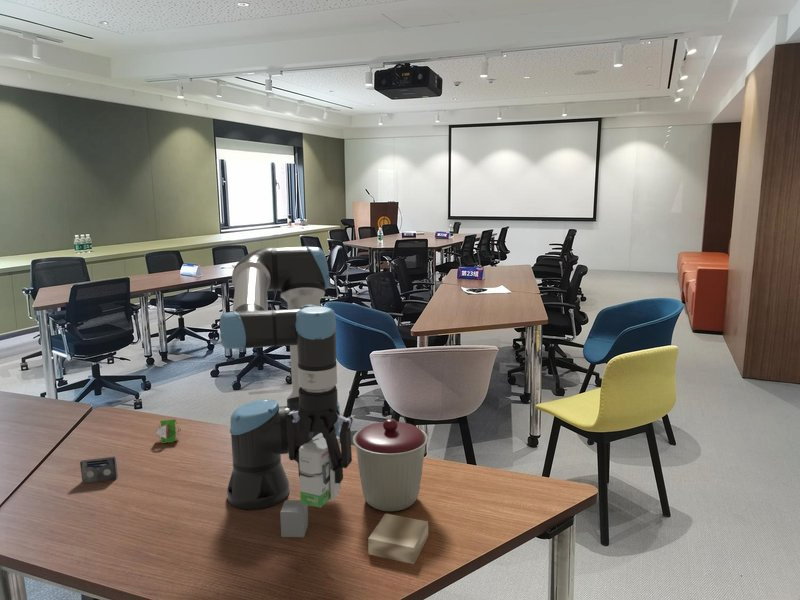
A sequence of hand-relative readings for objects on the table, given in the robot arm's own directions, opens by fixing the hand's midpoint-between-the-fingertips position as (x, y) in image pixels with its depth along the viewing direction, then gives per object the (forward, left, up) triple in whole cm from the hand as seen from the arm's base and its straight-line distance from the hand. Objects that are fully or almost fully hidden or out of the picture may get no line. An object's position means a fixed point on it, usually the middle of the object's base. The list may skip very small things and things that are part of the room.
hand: (321, 493), depth 116 cm
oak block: (+14, +7, -14) cm, 21 cm away
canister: (+7, +24, -14) cm, 29 cm away
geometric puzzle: (-69, +39, -14) cm, 80 cm away
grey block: (-10, +6, -14) cm, 18 cm away
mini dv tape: (-70, +14, -14) cm, 73 cm away
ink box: (0, 0, -1) cm, 1 cm away
